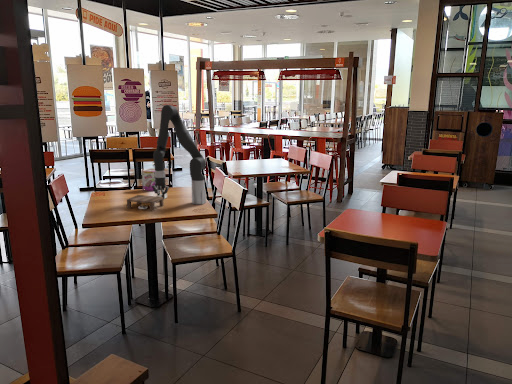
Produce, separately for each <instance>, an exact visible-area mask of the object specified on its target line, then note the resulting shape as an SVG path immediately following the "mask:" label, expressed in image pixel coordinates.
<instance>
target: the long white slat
mask: <svg viewBox="0 0 512 384" xmlns="http://www.w3.org/2000/svg"><path fill="white" fill-rule="evenodd" d="M155 197H162V193H160V195H155ZM164 197H165V198H164V199H163V200H165V199H167V198H168V192H167V193H166V194H164ZM156 203H157V202H155V203H154V204H156ZM142 205H146V206H147V207H148V206H149V207H150V203H142Z"/></svg>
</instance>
